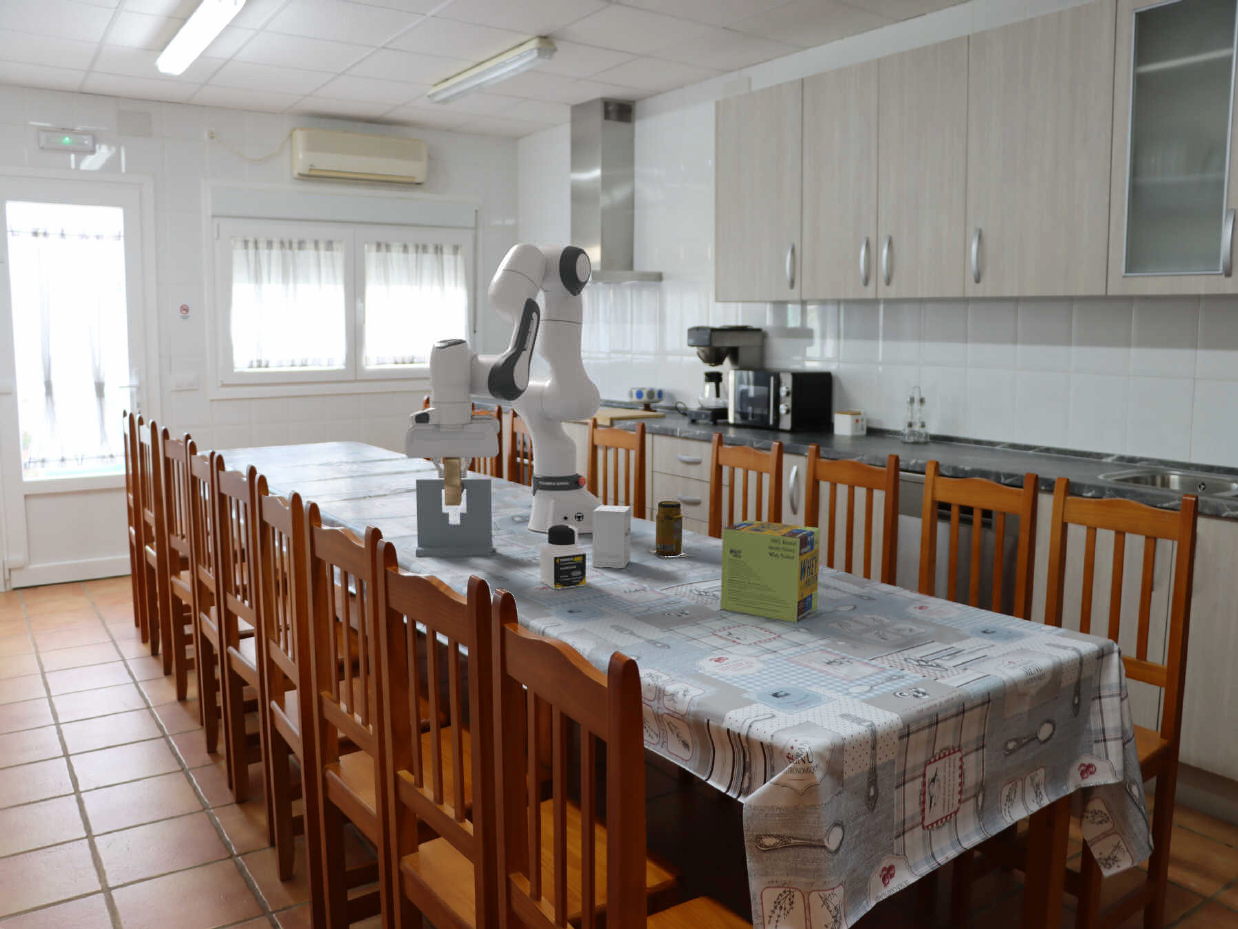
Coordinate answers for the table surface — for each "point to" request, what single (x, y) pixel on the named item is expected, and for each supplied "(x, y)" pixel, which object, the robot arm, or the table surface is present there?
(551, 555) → the medicine bottle
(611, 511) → the supplement box
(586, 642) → the table surface
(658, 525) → the condiment
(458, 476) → the hanger block
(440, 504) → the slate keyhole board
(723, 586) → the protein box
